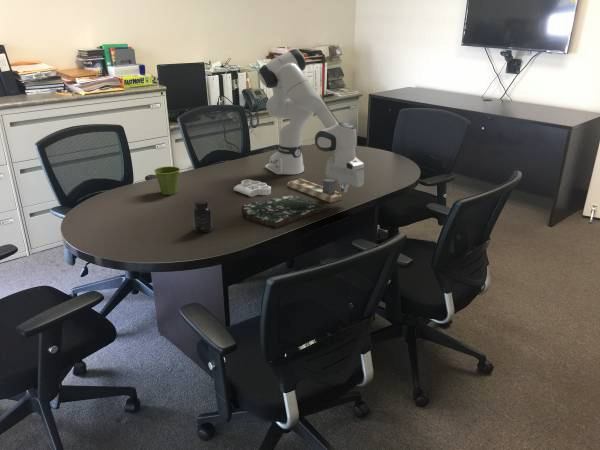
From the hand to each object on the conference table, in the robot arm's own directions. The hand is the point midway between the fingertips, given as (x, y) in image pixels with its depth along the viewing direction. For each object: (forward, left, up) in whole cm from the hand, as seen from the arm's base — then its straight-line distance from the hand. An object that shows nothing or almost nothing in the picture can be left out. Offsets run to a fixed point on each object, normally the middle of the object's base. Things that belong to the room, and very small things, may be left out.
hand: (343, 191), depth 224 cm
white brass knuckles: (-40, -20, -7) cm, 45 cm away
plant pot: (-63, -52, -6) cm, 82 cm away
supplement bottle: (-15, -63, -6) cm, 65 cm away
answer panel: (-20, 0, -6) cm, 20 cm away
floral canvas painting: (-12, -27, -7) cm, 30 cm away
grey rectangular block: (-10, 0, -3) cm, 10 cm away
